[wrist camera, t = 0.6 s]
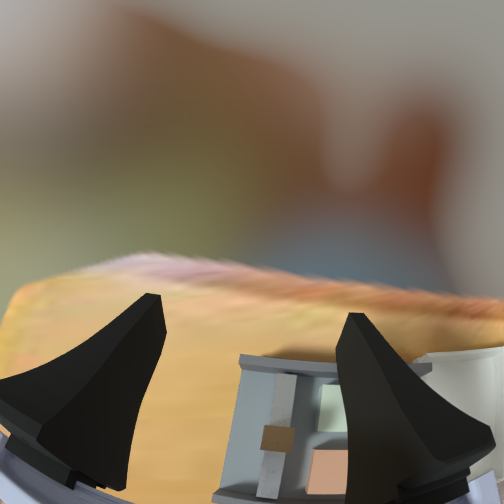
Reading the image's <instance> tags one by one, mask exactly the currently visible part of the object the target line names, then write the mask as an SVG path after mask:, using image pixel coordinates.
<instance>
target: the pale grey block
mask: <svg viewBox="0 0 504 504" xmlns="http://www.w3.org/2000/svg"><path fill="white" fill-rule="evenodd" d="M296 379H297V375H290V374H280V373H277V378H276V385H275V392H274V398H273V405H272V411H271V417H270V423H269V425H264V430H263V436H262V441H261V447H260V450H265V452H264V458H263V463H262V469H261V474H260V479H259V484H258V489H257V494H256V497H263V498H272V499H277V497H278V492H279V487H280V482H281V477H282V471H283V466H284V460H285V455H286V453H292V447H293V440H294V434H295V428H292V427H290V423H291V416H292V409H293V402H294V395H295V387H296Z"/></svg>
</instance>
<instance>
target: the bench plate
mask: <svg viewBox="0 0 504 504" xmlns="http://www.w3.org/2000/svg"><path fill="white" fill-rule="evenodd" d="M239 365H240V367H241V368H242V373H241V378H240V384H239V389H238V394H237V400H236V405H235V410H234V416H233V421H232V426H231V431H230V436H229V442H228V447H227V452H226V457H225V462H224V467H223V472H222V477H221V482H220V487H219V489H218V490H217V491H216V492H215V493H213V496H212V501H211V502H214V503H218V504H344V503H345V495H346V494H307V493H306V491H305V485H306V480H307V474H308V469H309V463H310V457H311V450H312V448H315V449H348V436H347V432H319V431H314V430H315V422H316V414H317V406H318V397H319V388H320V387H321V386H322V385H323V384H325V385H340V383H339V378H338V373H337V363H330V362H313V361H300V360H289V359H278V358H269V357H261V356H253V355H245V354H240V358H239ZM407 365H408V366H409V367H410V368H411V369H412V370H413V371H414V372H415V373H416V374H417V375H418V376H419V377H422V376H424V375H426V374H428V373H430V372H431V371H432V362H430V363H407ZM277 373H280V374H290V375H297V379H296V387H295V395H294V402H293V409H292V416H291V423H290V427H292V428H295V434H294V440H293V447H292V453H286V455H285V460H284V466H283V471H282V477H281V482H280V487H279V492H278V497H277V499H272V498H263V497H256V494H257V489H258V484H259V479H260V474H261V469H262V463H263V458H264V452H265V450H260V447H261V441H262V436H263V430H264V425H269V423H270V417H271V411H272V405H273V398H274V392H275V385H276V378H277Z"/></svg>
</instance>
